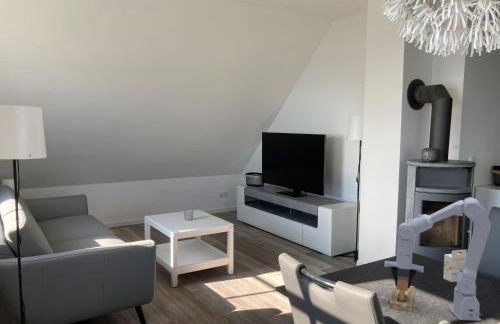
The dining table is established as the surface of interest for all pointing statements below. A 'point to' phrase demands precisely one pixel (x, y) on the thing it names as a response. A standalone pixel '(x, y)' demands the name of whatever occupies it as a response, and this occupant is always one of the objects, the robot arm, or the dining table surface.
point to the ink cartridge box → (453, 264)
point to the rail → (407, 299)
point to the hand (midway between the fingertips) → (402, 286)
